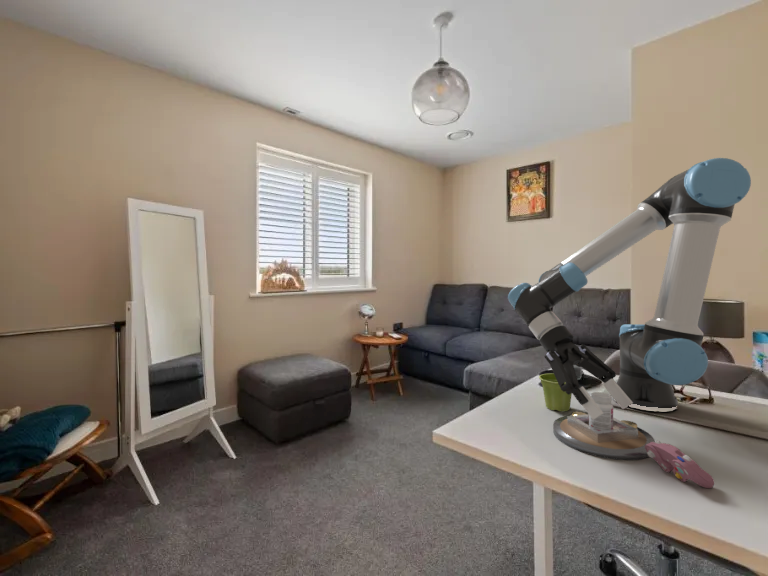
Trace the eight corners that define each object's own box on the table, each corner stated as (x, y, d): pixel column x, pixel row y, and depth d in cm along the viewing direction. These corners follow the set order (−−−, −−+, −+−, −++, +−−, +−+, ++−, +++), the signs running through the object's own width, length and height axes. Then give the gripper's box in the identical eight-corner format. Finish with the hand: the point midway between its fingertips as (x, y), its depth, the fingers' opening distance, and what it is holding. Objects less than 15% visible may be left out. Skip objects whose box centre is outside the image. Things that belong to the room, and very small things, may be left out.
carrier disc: (606, 417, 94) (606, 404, 94) (680, 454, 74) (680, 437, 74) (536, 424, 91) (536, 410, 91) (593, 464, 71) (593, 446, 71)
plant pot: (554, 416, 96) (554, 384, 96) (532, 404, 105) (532, 374, 105) (584, 412, 98) (583, 380, 98) (559, 400, 108) (559, 372, 107)
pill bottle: (616, 436, 80) (617, 398, 80) (593, 434, 81) (593, 397, 81) (608, 427, 85) (608, 392, 84) (586, 425, 86) (586, 390, 85)
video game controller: (650, 470, 72) (636, 440, 71) (669, 458, 72) (654, 428, 72) (698, 500, 62) (682, 466, 62) (720, 486, 62) (703, 452, 62)
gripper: (570, 337, 101) (629, 408, 88) (511, 346, 90) (569, 430, 77) (588, 320, 96) (654, 393, 83) (528, 328, 85) (594, 413, 72)
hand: (613, 411), depth 80 cm, fingers open, 11 cm apart
